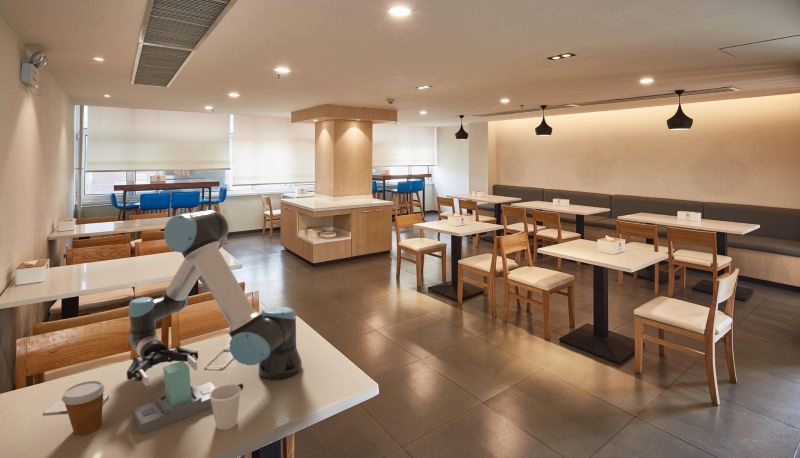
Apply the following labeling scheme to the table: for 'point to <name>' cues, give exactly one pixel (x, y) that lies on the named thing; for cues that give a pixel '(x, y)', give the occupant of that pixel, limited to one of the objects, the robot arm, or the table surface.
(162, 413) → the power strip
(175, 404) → the teal tall block
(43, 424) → the table surface
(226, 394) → the dixie cup
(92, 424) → the disposable coffee cup
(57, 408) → the smartphone
